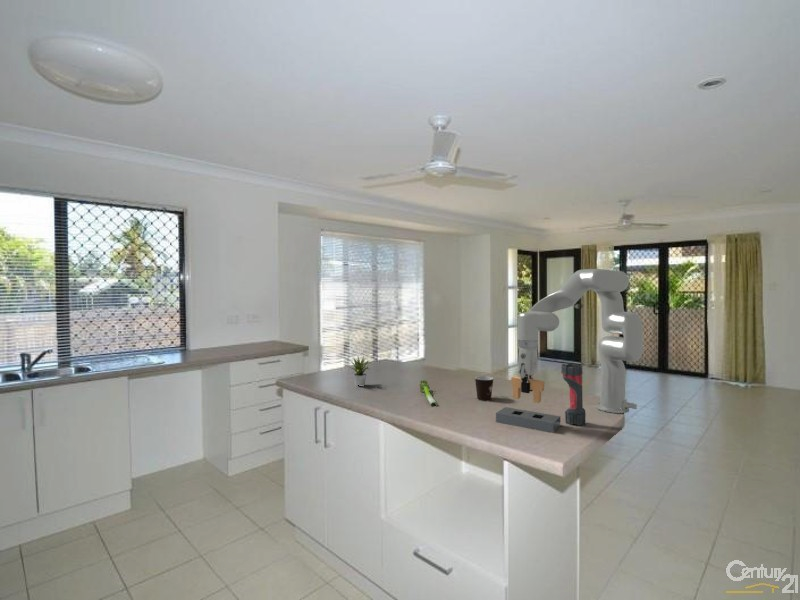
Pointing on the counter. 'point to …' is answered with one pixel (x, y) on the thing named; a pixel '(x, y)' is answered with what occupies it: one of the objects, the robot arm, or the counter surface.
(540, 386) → the tan bridge block
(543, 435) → the counter surface
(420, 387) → the green celery stalk
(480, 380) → the coffee mug
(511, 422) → the dark gray slotted block
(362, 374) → the house plant
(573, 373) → the flashlight
